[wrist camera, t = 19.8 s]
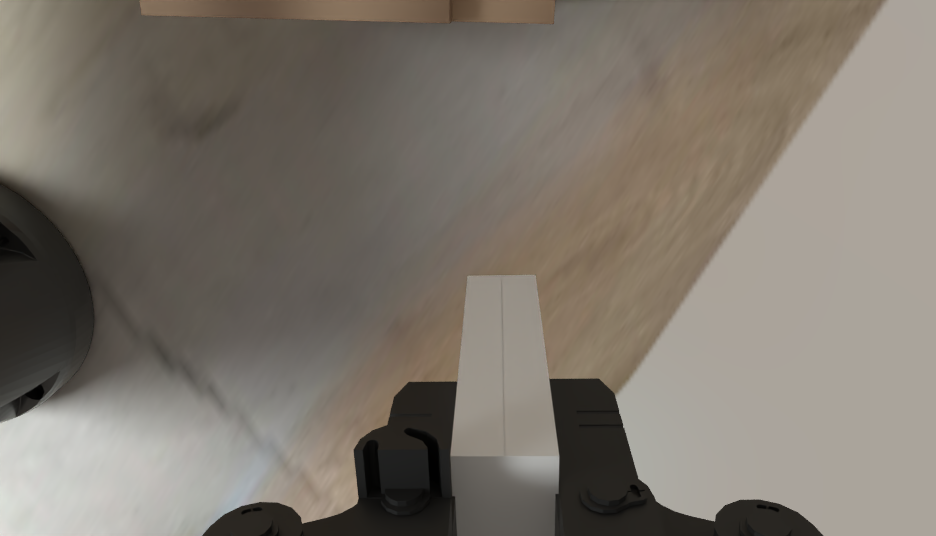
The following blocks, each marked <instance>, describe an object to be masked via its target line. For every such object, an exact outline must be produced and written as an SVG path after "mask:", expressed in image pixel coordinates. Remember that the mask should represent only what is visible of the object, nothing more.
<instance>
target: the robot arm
mask: <svg viewBox="0 0 936 536" xmlns="http://www.w3.org/2000/svg"><path fill="white" fill-rule="evenodd" d="M93 319H94V316H93V305H92V298H91V294H90V290H89V286H88V283H87V280H86V277H85V275H84V272H83V270H82V268H81V265H80V263H79V261H78V260H77V258H76V256H75V254H74V252H73V251H72V249H71V248H70V246H69V245H68V243H67V242H66V240H65V239H64V238H63V236H62V235H61V234H60V233H59V231H58V230H57V229H56V228H55V227H54V226H53V224H52V223H51V222H50V221H49V220H48V219H47V218H46V217H45V216H44V215H43V214H42V213H41V212H39V211H38V210H37V209H36V208H35V207H34V206H33V205H31V204H30V203H29V202H27V201H26V200H25V199H23V198H22V197H20V196H19V195H17V194H16V193H14V192H13V191H11V190H9V189H8V188H6V187H4V186H2V185H0V423H2V422H5V421H7V420H10V419H13V418H16V417H18V416H21V415H23V414H25V413H27V412H29V411H31V410H32V409H34V408H36V407H37V406H39V405H40V404H42V403H43V402H45V401H46V400H47V399H48V398H49V397H51V396H52V395H53V394H54V393H55V392H56V391H57V390H58V389H60V388H61V387H62V386H63V385H64V384H65V383H66V382H68V381H69V380H70V379H71V378H72V377H73V375H74V374H75V373H76V372H77V370H78V369H79V368H80V366H81V364H82V363H83V361H84V359H85V357H86V355H87V352H88V350H89V346H90V343H91V339H92V334H93ZM354 458H355V467H356V477H357V487H358V496H359V499H358V503H357V504H356V505H355V506H354V507H352V508H350V509H348V510H346V511H344V512H343V513H341V514H338V515H334V516H331V517H328V518H324V519H320V520H316V521H312V522H307V523H303V524H302V522H301V517H300V516H299V515H298V514H297V513H296V512H295V511H294V510H293V509H292V508H291V507H288V506H285V505H282V504H280V503H269V502H259V503H254V504H250V505H245V506H241V507H239V508H237V509H235V510H233V511H231V512H229V513H227V514H225V515H223V516H222V517H221V518H220V519H218V520H217V521H216V522H215V523H214V524H212V525H211V526H210V527H209V528H208V530H207V531H206V532H205V533H204V534H203V535H202V536H823V535H822V534H821V533H820V532H819V531H818V530H817V528H816V527H815V526H814V525H813V524H811V523H810V522H809V521H808V520H806V519H805V518H804V517H803V516H802V515H800V514H799V513H798V512H796V511H793V510H791V509H789V508H787V507H785V506H782V505H780V504H777V503H773V502H768V501H763V500H739V501H736V502H733V503H730V504H728V505H725V506H724V507H723V508H722V509H721V510H720V511H719V512H718V513H717V514H716V519H715V522H714V521H709V520H705V519H701V518H696V517H692V516H688V515H684V514H681V513H678V512H674V511H672V510H670V509H668V508H666V507H664V506H662V505H660V504H659V503H658V502H656V500H655V498H654V496H653V494H652V492H651V491H650V489H649V487H648V486H647V485H646V484H644V483H643V482H642V481H640V480H639V479H638V476H637V472H636V469H635V465H634V462H633V458H632V455H631V451H630V447H629V444H628V441H627V437H626V433H625V430H624V428H623V423H622V419H621V416H620V414H619V408H618V405H617V401H616V398H615V394H614V393H613V392H612V391H611V390H610V389H609V388H608V387H607V386H606V385H605V384H604V383H603V382H602V381H601V380H600V379H549V374H548V366H547V359H546V351H545V343H544V336H543V328H542V320H541V313H540V305H539V298H538V290H537V282H536V275H486V276H468V277H467V287H466V298H465V308H464V319H463V329H462V340H461V350H460V360H459V371H458V381H457V382H408V383H407V384H406V385H405V386H404V387H403V388H402V390H401V391H400V392H399V393H398V394H397V395H396V396H395V397H394V400H393V404H392V408H391V412H390V417H389V421H388V425H387V426H384V427H381V428H378V429H375V430H373V431H371V432H370V433H368V434H367V435H366V436H364V437H363V438H361V439H360V441H359V442H358V444H357V445H356V447H355V449H354Z"/></svg>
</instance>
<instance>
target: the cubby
mask: <svg viewBox="0 0 936 536" xmlns="http://www.w3.org/2000/svg"><path fill="white" fill-rule="evenodd" d="M139 1H140V8H141V15H150V16H188V17H227V18H265V19H304V20H342V21H381V22H420V23H450V22H452V21H458V22H496V23H535V24H554V11H555V0H139Z"/></svg>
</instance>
